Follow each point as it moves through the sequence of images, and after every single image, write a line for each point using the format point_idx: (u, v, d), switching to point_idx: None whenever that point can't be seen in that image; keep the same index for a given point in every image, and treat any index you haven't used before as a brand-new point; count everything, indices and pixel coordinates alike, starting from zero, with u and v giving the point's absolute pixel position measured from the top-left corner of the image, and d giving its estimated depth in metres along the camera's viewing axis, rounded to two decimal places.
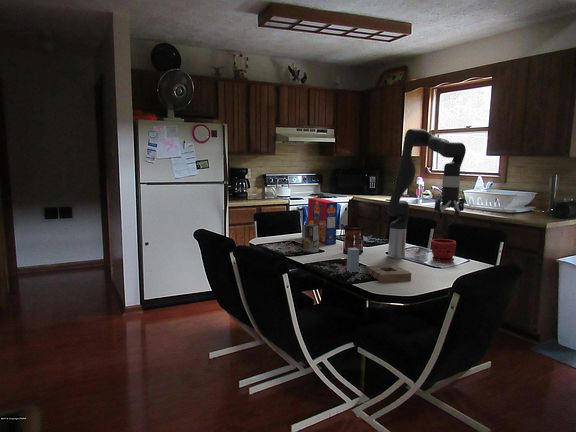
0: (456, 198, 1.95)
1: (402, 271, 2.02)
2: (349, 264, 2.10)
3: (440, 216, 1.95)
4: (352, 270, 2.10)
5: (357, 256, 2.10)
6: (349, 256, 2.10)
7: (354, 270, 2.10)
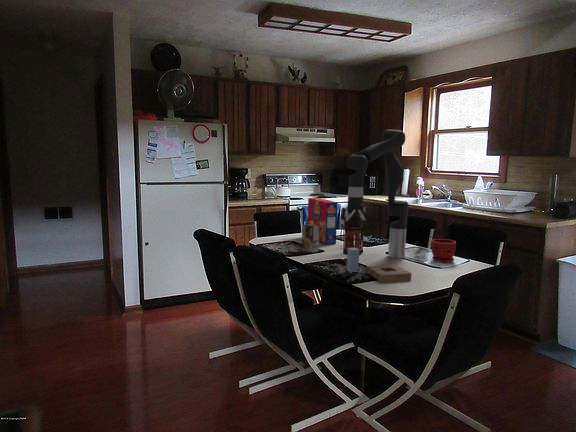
0: (361, 207, 2.07)
1: (402, 271, 2.02)
2: (349, 264, 2.10)
3: (345, 224, 2.07)
4: (352, 270, 2.10)
5: (357, 256, 2.10)
6: (349, 256, 2.10)
7: (354, 270, 2.10)
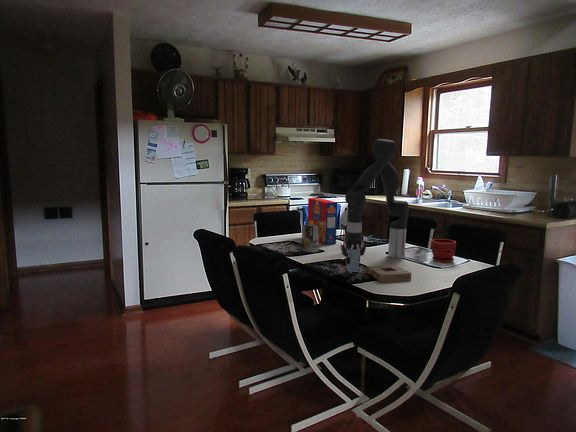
0: (360, 242, 2.10)
1: (402, 271, 2.02)
2: (349, 264, 2.10)
3: (347, 260, 2.10)
4: (352, 270, 2.10)
5: (357, 256, 2.10)
6: None
7: (354, 270, 2.10)
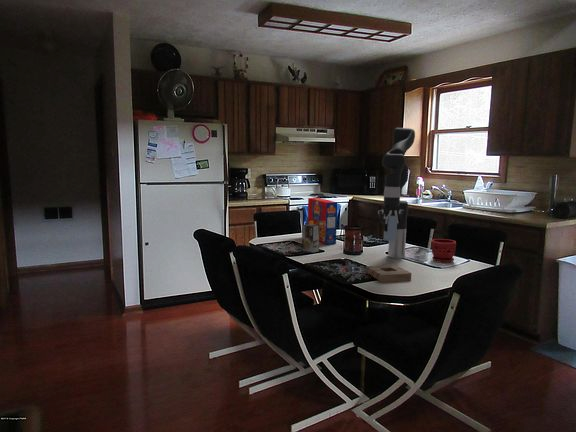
0: (398, 208, 2.00)
1: (402, 271, 2.02)
2: (387, 231, 2.01)
3: (385, 227, 2.00)
4: (390, 237, 2.00)
5: (395, 223, 2.00)
6: None
7: (392, 237, 2.01)
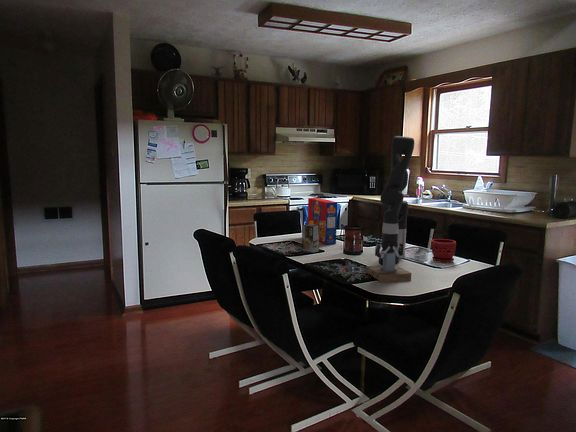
0: (395, 244, 2.03)
1: (402, 271, 2.02)
2: (385, 268, 2.03)
3: (380, 261, 2.03)
4: None
5: (393, 260, 2.03)
6: (385, 260, 2.03)
7: None
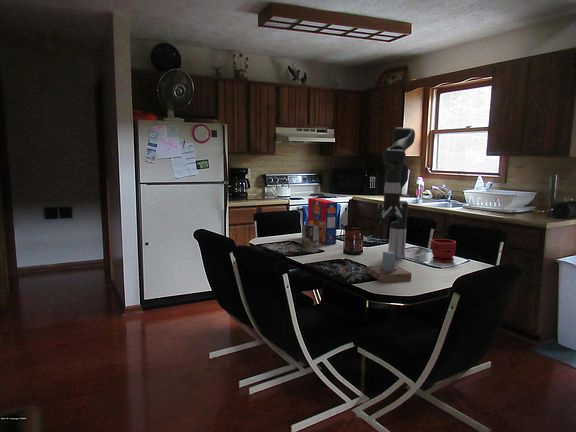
0: (397, 204, 2.00)
1: (402, 271, 2.02)
2: (385, 268, 2.03)
3: (382, 221, 1.99)
4: None
5: (393, 260, 2.03)
6: (385, 260, 2.03)
7: None
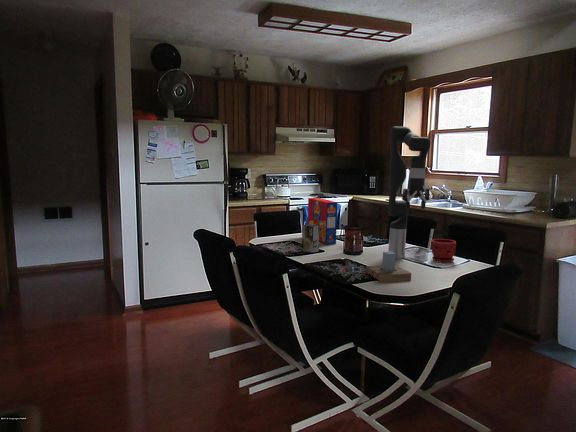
0: (422, 188, 2.11)
1: (402, 271, 2.02)
2: (385, 268, 2.03)
3: (407, 205, 2.11)
4: None
5: (393, 260, 2.03)
6: (385, 260, 2.03)
7: None
